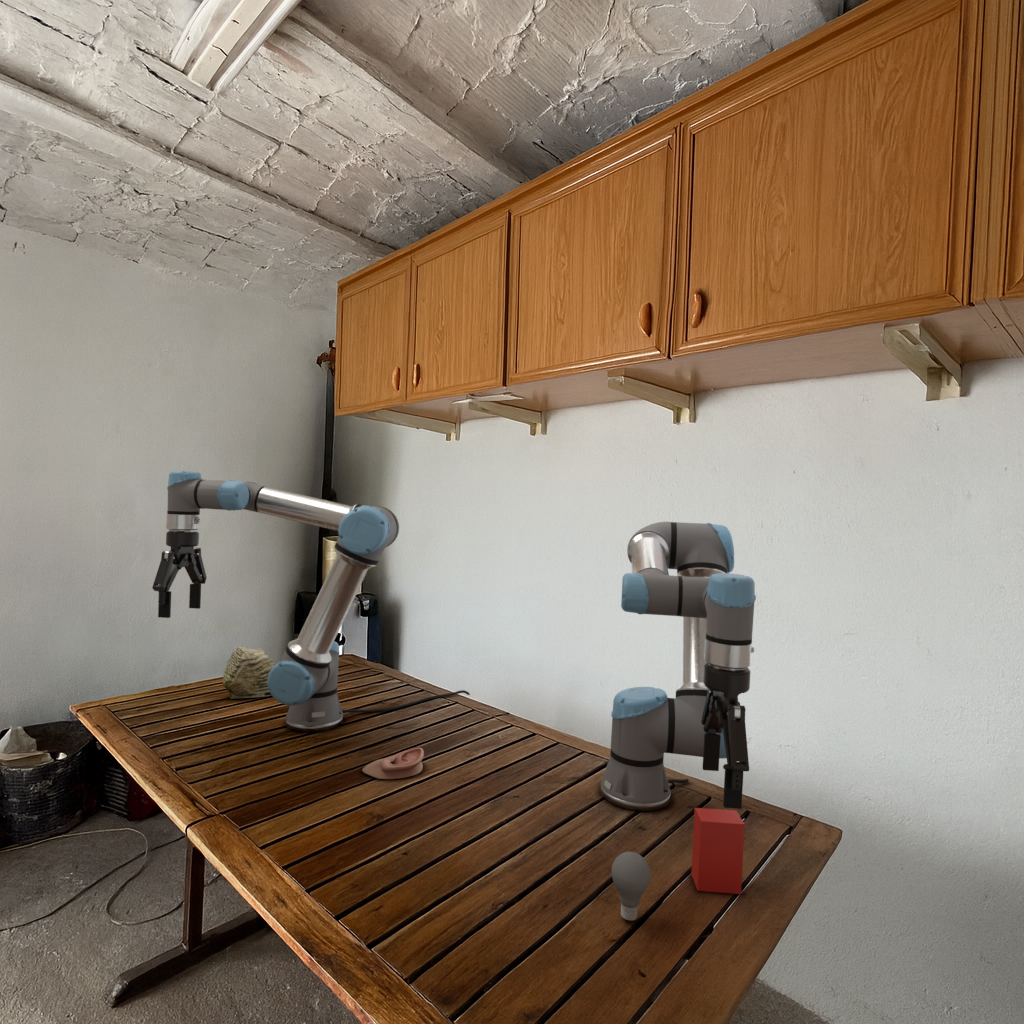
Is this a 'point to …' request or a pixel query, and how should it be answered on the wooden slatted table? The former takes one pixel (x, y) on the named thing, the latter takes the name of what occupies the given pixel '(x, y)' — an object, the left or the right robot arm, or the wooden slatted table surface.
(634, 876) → the light bulb
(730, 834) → the brick
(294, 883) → the wooden slatted table surface
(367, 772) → the anatomical model
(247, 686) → the fossil
